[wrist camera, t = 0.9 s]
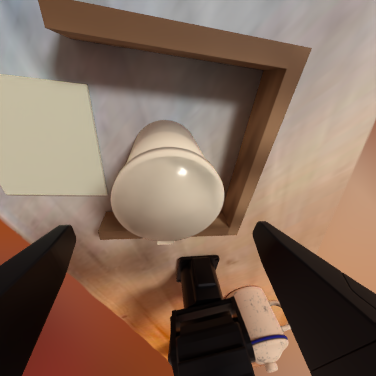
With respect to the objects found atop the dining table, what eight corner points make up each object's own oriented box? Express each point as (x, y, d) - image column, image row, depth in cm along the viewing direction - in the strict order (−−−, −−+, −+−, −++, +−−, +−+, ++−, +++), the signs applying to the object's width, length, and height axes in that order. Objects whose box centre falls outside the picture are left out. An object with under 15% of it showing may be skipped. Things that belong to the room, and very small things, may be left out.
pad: (107, 193, 18) (106, 195, 17) (8, 192, 16) (6, 194, 16) (87, 84, 12) (86, 84, 12) (-65, 66, 11) (-71, 65, 10)
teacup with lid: (226, 308, 40) (247, 381, 30) (221, 292, 35) (244, 374, 25) (275, 294, 39) (312, 364, 30) (277, 276, 34) (322, 353, 25)
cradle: (228, 217, 22) (236, 235, 20) (107, 219, 20) (100, 239, 17) (282, 53, 13) (311, 48, 10) (66, 13, 10) (36, -8, 8)
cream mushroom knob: (129, 114, 14) (101, 147, 7) (203, 121, 15) (237, 155, 8) (135, 199, 19) (121, 265, 12) (191, 199, 20) (206, 260, 13)
